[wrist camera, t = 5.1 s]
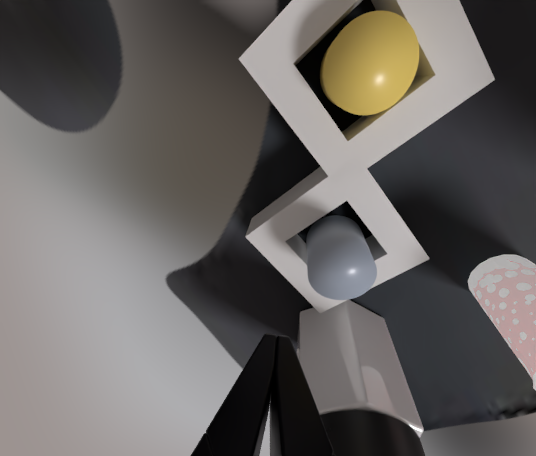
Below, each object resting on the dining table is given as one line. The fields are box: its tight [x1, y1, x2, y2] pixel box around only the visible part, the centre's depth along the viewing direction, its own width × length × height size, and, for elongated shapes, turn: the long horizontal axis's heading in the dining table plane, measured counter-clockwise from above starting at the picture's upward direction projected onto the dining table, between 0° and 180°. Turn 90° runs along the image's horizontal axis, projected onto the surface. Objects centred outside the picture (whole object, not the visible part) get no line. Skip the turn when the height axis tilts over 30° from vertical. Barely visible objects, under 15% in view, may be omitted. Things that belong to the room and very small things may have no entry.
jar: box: [297, 299, 425, 456], centre depth 21 cm, size 9×8×12 cm
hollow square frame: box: [239, 0, 495, 178], centre depth 15 cm, size 9×9×3 cm
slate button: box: [306, 215, 377, 300], centre depth 18 cm, size 4×4×4 cm
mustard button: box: [320, 10, 419, 115], centre depth 14 cm, size 4×4×4 cm
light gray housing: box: [245, 155, 430, 313], centre depth 20 cm, size 9×9×3 cm
